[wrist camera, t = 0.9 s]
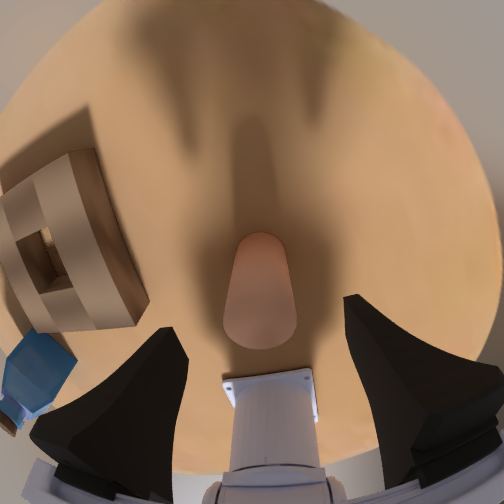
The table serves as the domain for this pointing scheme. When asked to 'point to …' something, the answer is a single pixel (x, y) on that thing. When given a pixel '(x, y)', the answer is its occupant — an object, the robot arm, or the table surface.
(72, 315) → the socket
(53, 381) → the perfume bottle
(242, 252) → the peg
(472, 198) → the table surface
